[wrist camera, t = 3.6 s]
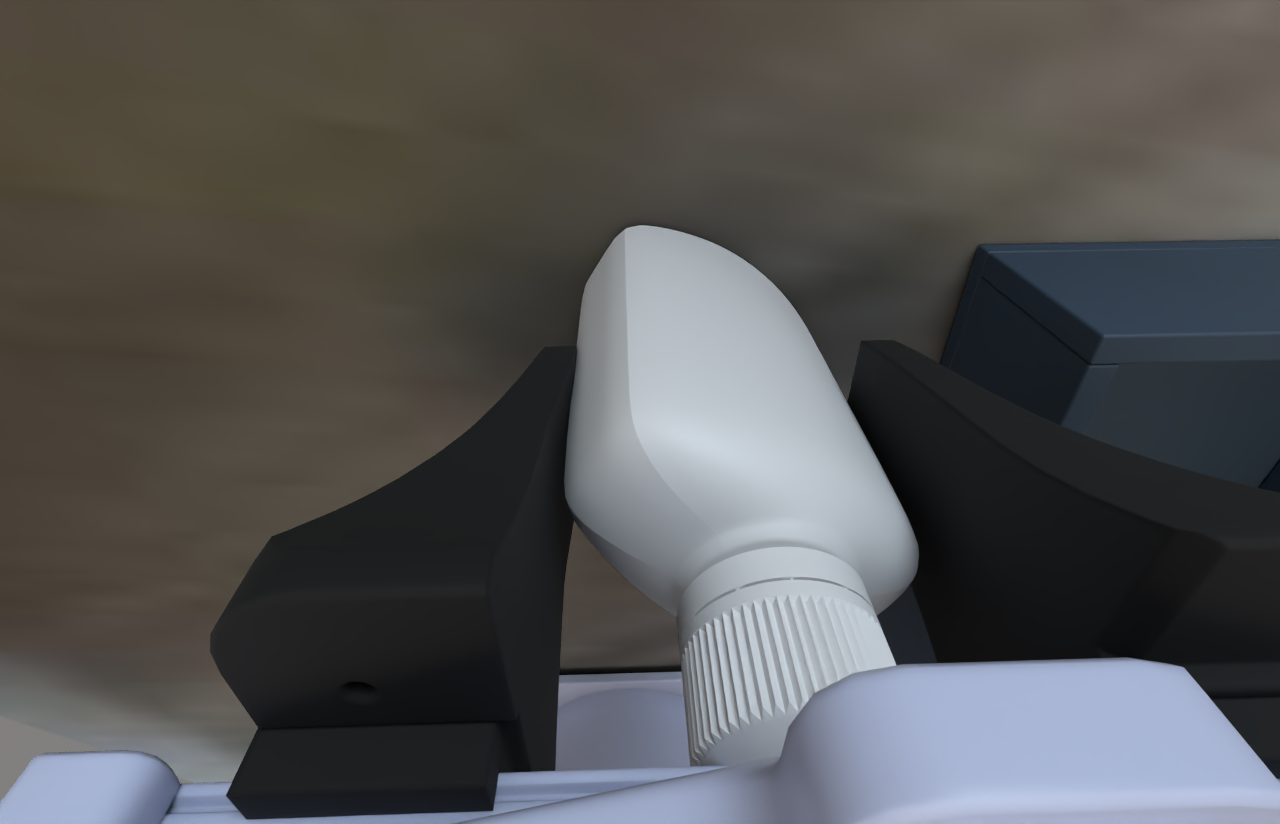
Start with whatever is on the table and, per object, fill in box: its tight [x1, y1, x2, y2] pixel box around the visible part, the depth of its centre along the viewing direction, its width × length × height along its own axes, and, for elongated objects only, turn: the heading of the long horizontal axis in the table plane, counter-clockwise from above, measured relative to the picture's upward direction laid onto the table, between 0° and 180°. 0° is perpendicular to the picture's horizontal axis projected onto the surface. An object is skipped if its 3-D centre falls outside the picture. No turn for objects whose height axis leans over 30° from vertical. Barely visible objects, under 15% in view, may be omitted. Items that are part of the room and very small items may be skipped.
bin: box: [877, 240, 1280, 665], centre depth 16 cm, size 13×11×4 cm
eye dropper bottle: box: [564, 225, 919, 766], centre depth 10 cm, size 4×6×12 cm
